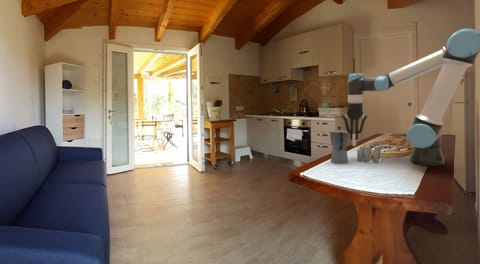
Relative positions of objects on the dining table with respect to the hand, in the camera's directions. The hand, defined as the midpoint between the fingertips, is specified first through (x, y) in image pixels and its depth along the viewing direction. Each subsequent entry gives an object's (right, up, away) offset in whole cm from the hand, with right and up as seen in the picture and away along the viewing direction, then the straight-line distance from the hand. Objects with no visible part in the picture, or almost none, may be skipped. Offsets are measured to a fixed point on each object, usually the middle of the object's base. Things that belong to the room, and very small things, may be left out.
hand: (354, 145), depth 162 cm
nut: (+7, -8, -3) cm, 11 cm away
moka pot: (-10, -10, -5) cm, 15 cm away
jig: (+7, -9, -3) cm, 12 cm away
